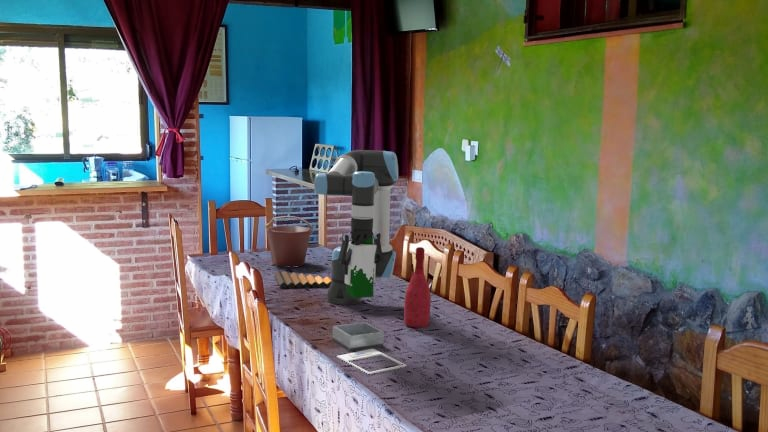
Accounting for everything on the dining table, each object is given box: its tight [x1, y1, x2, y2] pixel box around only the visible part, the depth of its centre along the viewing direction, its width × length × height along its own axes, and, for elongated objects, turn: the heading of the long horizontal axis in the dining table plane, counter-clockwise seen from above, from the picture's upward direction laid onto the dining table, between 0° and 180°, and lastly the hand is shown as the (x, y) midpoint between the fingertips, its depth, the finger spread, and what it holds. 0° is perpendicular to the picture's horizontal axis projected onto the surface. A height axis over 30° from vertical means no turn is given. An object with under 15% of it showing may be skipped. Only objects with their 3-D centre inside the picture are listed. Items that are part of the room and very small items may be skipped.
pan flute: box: [273, 269, 332, 289], centre depth 330 cm, size 25×3×25 cm
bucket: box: [264, 215, 314, 268], centre depth 365 cm, size 24×22×25 cm
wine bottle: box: [403, 246, 432, 329], centre depth 266 cm, size 10×10×30 cm
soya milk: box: [346, 237, 377, 299], centre depth 240 cm, size 9×9×20 cm
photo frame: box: [336, 348, 407, 375], centre depth 226 cm, size 15×1×18 cm
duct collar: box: [332, 321, 385, 352], centre depth 243 cm, size 13×13×5 cm
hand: (359, 282), depth 240 cm, fingers closed on soya milk, 9 cm apart
